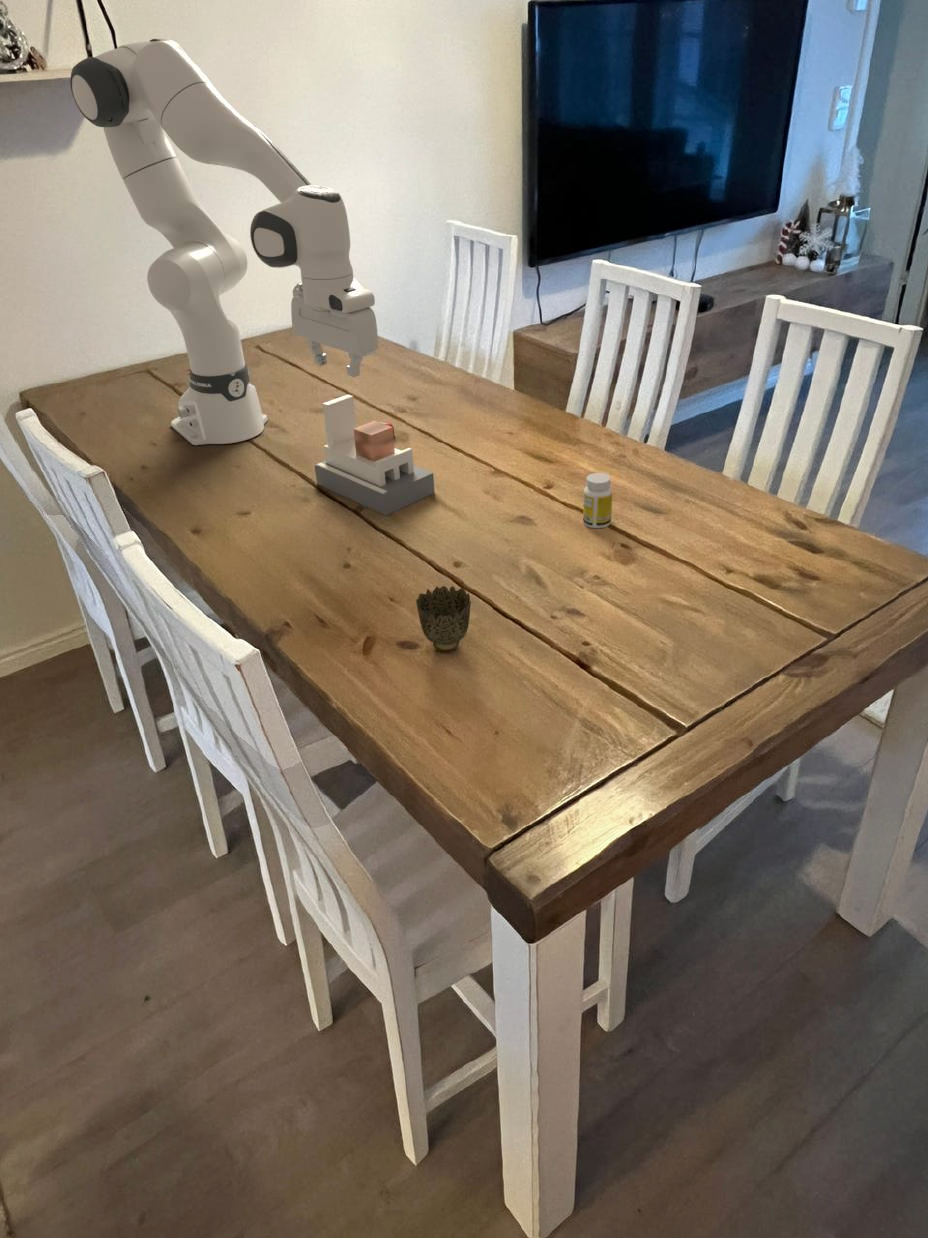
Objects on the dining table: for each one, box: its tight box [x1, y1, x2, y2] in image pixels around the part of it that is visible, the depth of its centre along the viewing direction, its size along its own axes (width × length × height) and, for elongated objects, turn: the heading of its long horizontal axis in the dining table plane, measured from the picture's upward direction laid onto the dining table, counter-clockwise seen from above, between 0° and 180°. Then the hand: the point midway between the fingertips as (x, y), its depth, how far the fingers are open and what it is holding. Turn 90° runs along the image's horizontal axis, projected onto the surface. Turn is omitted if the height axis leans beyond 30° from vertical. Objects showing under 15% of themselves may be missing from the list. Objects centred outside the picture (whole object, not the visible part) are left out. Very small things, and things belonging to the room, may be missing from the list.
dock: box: [314, 459, 435, 516], centre depth 169 cm, size 20×12×4 cm, turn 45°
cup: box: [415, 585, 472, 653], centre depth 124 cm, size 8×7×8 cm
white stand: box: [322, 394, 414, 487], centre depth 165 cm, size 16×8×11 cm, turn 45°
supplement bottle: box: [582, 472, 613, 529], centre depth 153 cm, size 5×5×8 cm
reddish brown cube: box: [353, 420, 395, 462], centre depth 164 cm, size 5×5×5 cm
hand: (337, 369), depth 163 cm, fingers open, 8 cm apart
